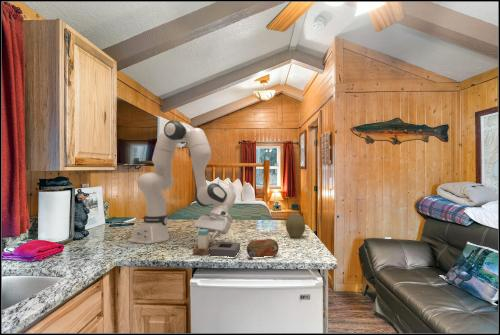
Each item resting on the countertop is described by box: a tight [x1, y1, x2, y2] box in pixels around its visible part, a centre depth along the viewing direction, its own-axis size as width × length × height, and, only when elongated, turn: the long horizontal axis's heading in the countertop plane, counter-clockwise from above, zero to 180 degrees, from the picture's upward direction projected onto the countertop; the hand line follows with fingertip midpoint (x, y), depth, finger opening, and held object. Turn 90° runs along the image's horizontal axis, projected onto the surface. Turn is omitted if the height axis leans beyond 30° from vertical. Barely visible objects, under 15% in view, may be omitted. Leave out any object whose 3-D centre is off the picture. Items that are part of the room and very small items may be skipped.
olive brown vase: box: [285, 211, 306, 239], centre depth 152 cm, size 11×11×15 cm
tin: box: [246, 238, 279, 258], centre depth 117 cm, size 15×3×8 cm, turn 106°
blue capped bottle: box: [197, 229, 210, 249], centre depth 123 cm, size 4×4×11 cm
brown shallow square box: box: [192, 244, 214, 256], centre depth 123 cm, size 8×8×3 cm
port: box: [209, 241, 241, 257], centre depth 121 cm, size 12×12×4 cm
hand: (204, 238), depth 124 cm, fingers open, 8 cm apart
